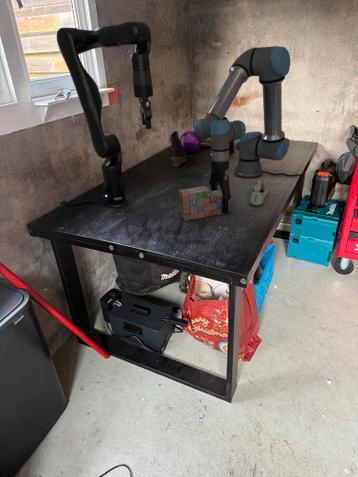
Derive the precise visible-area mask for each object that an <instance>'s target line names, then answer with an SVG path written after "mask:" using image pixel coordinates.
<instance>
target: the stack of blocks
mask: <svg viewBox="0 0 358 477" xmlns="http://www.w3.org/2000/svg"><path fill="white" fill-rule="evenodd" d="M178 196H179V197H178V202H179V215H180V217H181V219H182V220H183V221H184V222H185V221H186V222H187V221H191V220H196V219H204V218H207V217H213V216H219V215H225V214H226V213H222V198H223V196H222V192H221V189H217V190H215V191H211V189H209V188H208V187H207V186H206V185H202V186H195V187H190V188H183V189H179V190H178ZM230 207H231V199H229V208H228V213H227V214H229V213H231V212H230V211H231V208H230Z"/></svg>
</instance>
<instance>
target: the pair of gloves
mask: <svg viewBox="0 0 358 477" xmlns="http://www.w3.org/2000/svg"><path fill="white" fill-rule="evenodd" d="M206 147H209V148H211V138H209V137H205V139H204V140H203V139H201V145H200V148H199V149H202V148H206Z"/></svg>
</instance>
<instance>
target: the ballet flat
mask: <svg viewBox="0 0 358 477" xmlns="http://www.w3.org/2000/svg"><path fill="white" fill-rule="evenodd" d="M268 194H269V189H268V186H267V183H266V182H265V181H264V180H262V179H257V180H255V181H254V182H253V184H252V187H251V190H250V196H249V204H250V205H251V206H252V207H260V206H261V205H263V203H264V201H265V198H266V196H267V195H268Z"/></svg>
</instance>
